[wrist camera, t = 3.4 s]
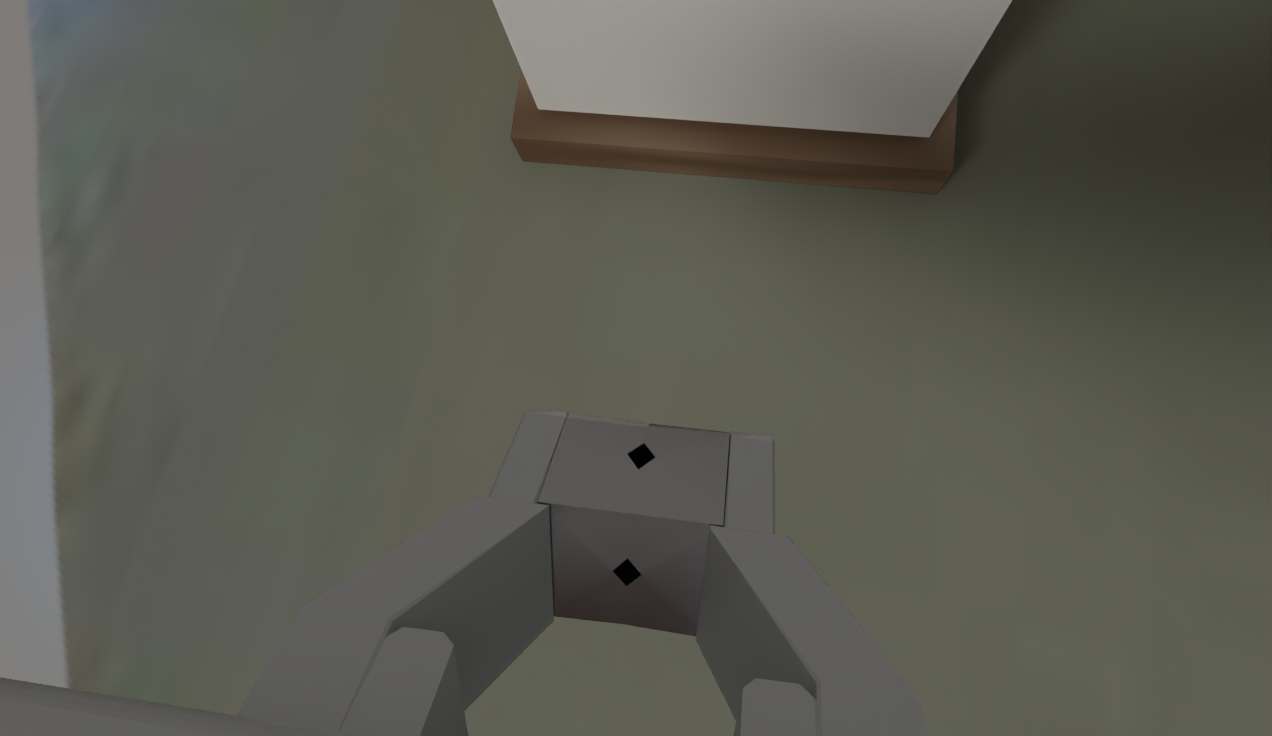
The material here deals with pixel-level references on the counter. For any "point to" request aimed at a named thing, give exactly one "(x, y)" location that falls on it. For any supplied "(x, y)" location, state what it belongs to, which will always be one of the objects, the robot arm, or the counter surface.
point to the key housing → (736, 148)
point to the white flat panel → (753, 59)
